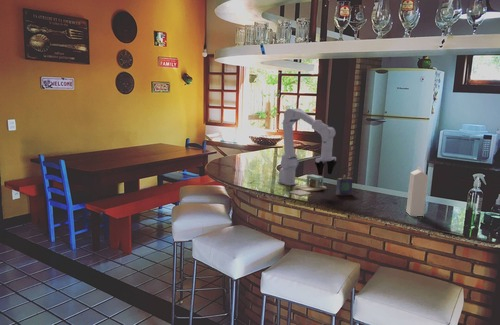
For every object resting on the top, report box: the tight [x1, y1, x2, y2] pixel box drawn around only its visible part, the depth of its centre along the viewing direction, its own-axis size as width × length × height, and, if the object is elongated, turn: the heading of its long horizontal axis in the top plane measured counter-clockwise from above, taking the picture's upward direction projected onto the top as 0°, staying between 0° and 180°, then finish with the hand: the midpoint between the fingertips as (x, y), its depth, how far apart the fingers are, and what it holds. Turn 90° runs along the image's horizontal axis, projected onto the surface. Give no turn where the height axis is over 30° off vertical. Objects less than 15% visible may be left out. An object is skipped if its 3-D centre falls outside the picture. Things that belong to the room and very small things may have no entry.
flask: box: [335, 174, 354, 197], centre depth 211 cm, size 9×3×11 cm, turn 109°
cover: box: [305, 174, 324, 187], centre depth 224 cm, size 8×5×6 cm, turn 39°
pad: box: [289, 189, 312, 197], centre depth 210 cm, size 8×8×1 cm
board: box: [292, 183, 327, 193], centre depth 222 cm, size 10×16×1 cm, turn 129°
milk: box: [405, 165, 429, 217], centre depth 178 cm, size 6×6×22 cm
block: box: [309, 179, 321, 188], centre depth 224 cm, size 4×4×5 cm
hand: (324, 174), depth 214 cm, fingers open, 7 cm apart
